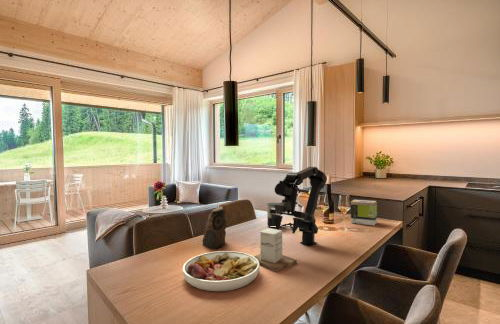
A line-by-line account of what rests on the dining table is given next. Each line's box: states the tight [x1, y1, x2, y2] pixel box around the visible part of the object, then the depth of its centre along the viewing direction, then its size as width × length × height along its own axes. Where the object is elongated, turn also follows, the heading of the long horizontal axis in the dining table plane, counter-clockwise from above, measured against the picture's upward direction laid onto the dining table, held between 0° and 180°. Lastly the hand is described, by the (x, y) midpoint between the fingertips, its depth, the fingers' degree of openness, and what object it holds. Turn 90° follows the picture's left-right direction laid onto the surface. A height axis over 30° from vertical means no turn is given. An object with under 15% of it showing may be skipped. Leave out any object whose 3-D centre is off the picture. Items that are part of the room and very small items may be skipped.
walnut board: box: [253, 253, 298, 273], centre depth 127 cm, size 13×16×2 cm
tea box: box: [350, 199, 378, 226], centre depth 190 cm, size 15×10×15 cm, turn 58°
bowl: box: [182, 250, 260, 292], centre depth 114 cm, size 30×30×8 cm
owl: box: [201, 205, 227, 251], centre depth 149 cm, size 13×13×20 cm
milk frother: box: [266, 202, 293, 227], centre depth 184 cm, size 14×16×15 cm
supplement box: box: [260, 227, 283, 263], centre depth 126 cm, size 7×7×13 cm
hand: (285, 231), depth 134 cm, fingers open, 9 cm apart
